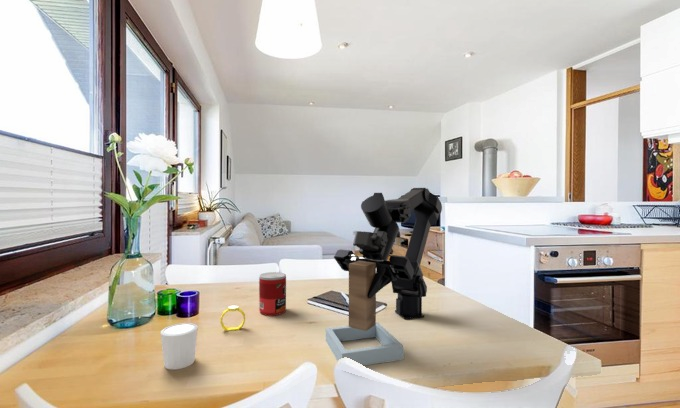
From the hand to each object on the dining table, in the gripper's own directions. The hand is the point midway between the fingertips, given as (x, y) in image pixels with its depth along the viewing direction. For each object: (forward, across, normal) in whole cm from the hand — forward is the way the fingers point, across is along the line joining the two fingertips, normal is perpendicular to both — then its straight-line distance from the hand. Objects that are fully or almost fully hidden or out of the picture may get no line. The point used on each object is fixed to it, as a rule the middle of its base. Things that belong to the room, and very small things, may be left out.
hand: (359, 295), depth 72 cm
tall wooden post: (+4, 0, +6) cm, 7 cm away
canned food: (+4, -35, +14) cm, 38 cm away
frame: (+8, 0, +10) cm, 13 cm away
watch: (+14, -33, +3) cm, 36 cm away
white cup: (+27, -28, -9) cm, 39 cm away
